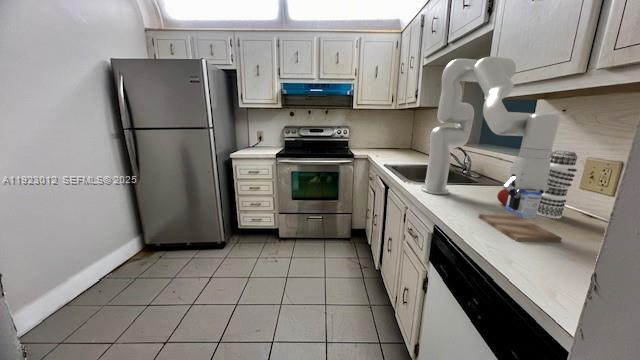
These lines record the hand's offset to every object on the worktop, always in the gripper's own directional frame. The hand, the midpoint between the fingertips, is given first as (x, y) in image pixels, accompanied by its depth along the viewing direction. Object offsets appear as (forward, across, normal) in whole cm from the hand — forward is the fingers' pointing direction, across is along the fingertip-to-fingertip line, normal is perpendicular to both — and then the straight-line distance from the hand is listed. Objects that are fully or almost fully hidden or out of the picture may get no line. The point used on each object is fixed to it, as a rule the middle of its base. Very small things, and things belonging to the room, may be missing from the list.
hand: (520, 208), depth 83 cm
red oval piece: (+8, -14, -24) cm, 29 cm away
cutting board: (+7, 0, 0) cm, 7 cm away
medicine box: (+2, 0, 0) cm, 2 cm away
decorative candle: (+8, -24, -14) cm, 29 cm away
